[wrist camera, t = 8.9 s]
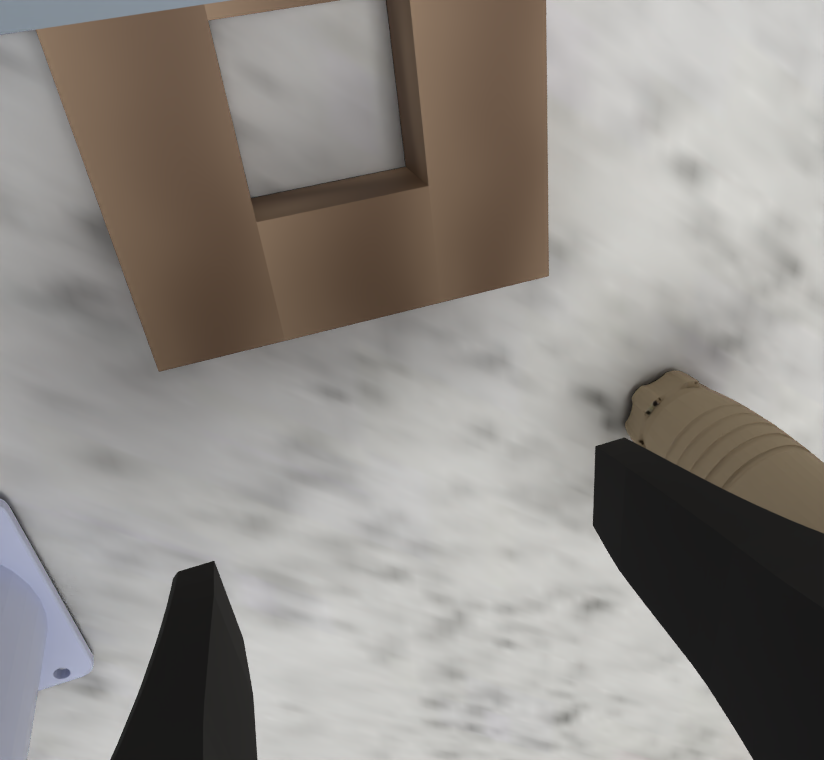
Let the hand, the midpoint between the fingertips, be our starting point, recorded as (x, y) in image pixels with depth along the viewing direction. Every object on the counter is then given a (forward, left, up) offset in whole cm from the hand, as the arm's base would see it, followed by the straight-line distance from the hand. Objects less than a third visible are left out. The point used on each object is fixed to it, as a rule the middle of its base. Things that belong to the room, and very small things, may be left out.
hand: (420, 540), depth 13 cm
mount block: (+1, +6, -10) cm, 12 cm away
